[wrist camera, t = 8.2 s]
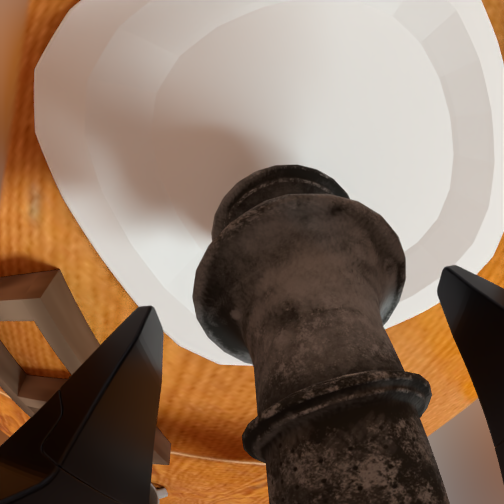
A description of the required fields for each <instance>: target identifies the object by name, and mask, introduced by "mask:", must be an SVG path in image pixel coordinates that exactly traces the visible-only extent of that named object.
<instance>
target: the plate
mask: <svg viewBox="0 0 504 504" xmlns="http://www.w3.org/2000/svg"><path fill="white" fill-rule="evenodd" d="M34 121H35V134H36V136H37V139H38V142H39V144H40V147H41V149H42V152H43V154H44V157H45V159H46V162H47V164H48V166H49V169H50V171H51V174H52V176H53V178H54V180H55V183H56V185H57V187H58V189H59V191H60V194H61V196H62V198H63V199H64V201H65V203H66V204H67V206H68V208H69V209H70V211H71V213H72V214H73V216H74V218H75V219H76V221H77V222H78V224H79V226H80V227H81V229H82V230H83V232H84V233H85V235H86V236H87V238H88V239H89V241H90V242H91V244H92V245H93V247H94V248H95V250H96V251H97V253H98V254H99V256H100V257H101V259H102V260H103V261H104V263H105V264H106V265H107V267H108V268H109V269H110V271H111V272H112V273H113V275H114V276H115V277H116V279H117V280H118V281H119V283H120V284H121V285H122V287H123V288H124V289H125V290H126V292H127V293H128V294H129V295H130V297H131V298H132V299H133V300H134V302H135V303H136V304H137V305H138V307H140V306H150V305H151V306H153V307H154V308H155V310H156V312H157V315H158V318H159V320H160V323H161V325H162V328H163V331H164V332H165V333H166V334H167V335H168V336H169V337H170V338H171V339H172V340H173V341H174V342H175V343H176V344H178V345H179V346H181V347H183V348H185V349H187V350H189V351H191V352H193V353H196V354H198V355H200V356H202V357H204V358H206V359H209V360H211V361H213V362H215V363H217V364H221V365H252V364H248V363H245V362H242V361H241V360H239V359H237V358H235V357H233V356H231V355H229V354H227V353H225V352H224V351H223V350H221V349H220V348H219V347H218V346H217V345H216V344H215V343H214V342H213V341H211V340H210V339H209V338H208V337H207V335H206V333H205V332H204V330H203V328H202V327H201V325H200V323H199V322H198V320H197V318H196V313H195V308H194V304H193V299H192V294H193V287H194V280H195V273H196V269H197V267H198V265H199V263H200V261H201V259H202V257H203V255H204V253H205V251H206V249H207V247H208V246H209V244H210V243H211V242H212V236H211V232H212V226H213V221H214V215H215V213H216V211H217V209H218V207H219V205H220V203H221V201H222V199H223V197H224V196H225V195H226V194H227V193H228V192H229V191H230V190H231V189H232V188H233V187H234V185H235V184H236V183H237V182H239V181H241V180H242V179H244V178H245V177H247V176H249V175H250V174H252V173H253V172H255V171H258V170H261V169H265V168H268V167H271V166H275V165H301V166H305V167H309V168H314V169H317V170H319V171H321V172H322V173H324V174H326V175H328V176H329V177H331V178H333V179H334V180H335V181H336V182H337V183H338V184H339V185H340V186H341V187H342V188H343V189H344V190H345V192H346V193H347V194H348V196H349V198H350V199H351V200H355V201H359V202H360V203H362V204H364V205H365V206H367V207H368V208H370V209H372V210H373V211H375V212H377V213H378V214H380V215H381V216H382V217H383V218H384V219H385V220H386V222H387V223H388V224H389V225H390V226H391V228H392V229H393V230H394V231H395V233H396V234H397V235H398V237H399V239H400V242H401V245H402V248H403V251H404V254H405V257H406V281H405V284H404V288H403V291H402V294H401V298H400V301H399V303H398V305H397V306H396V308H395V310H394V311H393V313H392V315H391V316H390V318H389V320H388V321H387V322H386V323H385V324H384V326H383V327H384V329H387V328H389V327H391V326H394V325H396V324H398V323H401V322H403V321H405V320H407V319H409V318H412V317H414V316H416V315H418V314H420V313H422V312H424V311H426V310H427V309H429V308H431V307H433V306H434V305H436V304H438V303H439V302H440V301H439V298H438V295H437V287H438V284H439V280H440V277H441V273H442V270H443V268H444V267H446V266H451V265H457V266H459V267H461V268H463V269H465V270H467V271H469V272H472V273H474V274H477V273H478V272H479V271H480V270H481V269H482V268H483V267H484V266H485V265H486V264H487V263H488V261H489V260H490V259H491V258H492V257H493V255H494V253H495V251H496V248H497V246H498V244H499V241H500V239H501V237H502V234H503V232H504V64H503V60H502V56H501V52H500V48H499V44H498V41H497V38H496V36H495V33H494V30H493V28H492V25H491V23H490V20H489V18H488V15H487V13H486V10H485V8H484V6H483V3H482V1H481V0H80V1H79V2H78V3H77V4H76V5H74V6H73V7H72V8H71V9H70V10H69V11H68V13H67V14H66V16H65V17H64V19H63V20H62V22H61V23H60V25H59V27H58V28H57V30H56V31H55V33H54V35H53V36H52V38H51V40H50V41H49V43H48V45H47V47H46V49H45V50H44V52H43V54H42V56H41V58H40V60H39V61H38V63H37V65H36V67H35V70H34Z"/></svg>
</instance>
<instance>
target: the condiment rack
mask: <svg viewBox="0 0 504 504" xmlns="http://www.w3.org/2000/svg"><path fill="white" fill-rule="evenodd" d="M0 321H35V323H36V325H37V326H38V328H39V329H40V331H41V332H42V334H43V336H44V337H45V339H46V340H47V342H48V343H49V344H50V346H51V347H52V349H53V350H54V352H55V353H56V354H57V356H58V357H59V359H60V360H61V361H62V363H63V364H64V365H65V367H66V368H67V369H68V371H69V372H70V373H71V375H72V374H73V373H74V372H75V371H76V370H77V369H78V368H79V367H80V366H81V365H82V364H83V363H84V362H85V360H86V359H87V358H88V357H89V356H90V355H91V354H92V353H93V352H94V351H95V350H96V349H97V348H98V347H99V346H100V345H99V343H98V341H97V340H96V338H95V336H94V334H93V333H92V331H91V329H90V327H89V326H88V324H87V322H86V320H85V319H84V317H83V315H82V313H81V311H80V309H79V307H78V306H77V304H76V302H75V300H74V298H73V296H72V294H71V292H70V290H69V288H68V286H67V284H66V282H65V280H64V278H63V276H62V273H61V271H60V269H59V270H51V271H44V272H36V273H29V274H21V275H14V276H6V277H0ZM66 381H67V379H59V378H49V377H40V376H32V375H26V373H25V372H24V371H23V370H22V368H21V367H20V366H19V365H18V363H17V362H16V361H15V360H14V358H13V357H12V356H11V354H10V353H9V352H8V350H7V349H6V348H5V346H4V345H3V344H2V342H1V341H0V387H1V388H2V389H3V390H4V391H5V392H6V393H7V394H8V395H9V396H10V398H11V399H12V400H13V401H14V402H15V403H16V404H17V405H18V406H19V407H20V408H21V409H22V410H23V411H24V412H25V413H26V414H28V415H29V416H30V417H32V416H33V415H34V414H35V413H36V412H37V411H38V410H39V409H40V408H41V407H42V406H43V405H44V404H45V403H46V402H47V401H48V400H49V399H50V398H51V397H52V395H53V394H54V393H55V392H56V391H57V390H58V389H59V390H60V387H61V386H62V385H63V384H64V383H65V382H66ZM170 450H171V443H170V442H169V441H168V440H167V439H166V438H165V436H164V435H163V434H162V433H161V431H160V430H159V429H158V428H157V426H156V433H155V442H154V452H153V462H152V464H161V465H169V462H170Z"/></svg>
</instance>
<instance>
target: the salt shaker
mask: <svg viewBox="0 0 504 504" xmlns="http://www.w3.org/2000/svg"><path fill="white" fill-rule="evenodd" d="M211 236H212V242H211V243H210V244H209V246H208V247H207V249H206V251H205V253H204V255H203V257H202V259H201V261H200V263H199V265H198V267H197V269H196V273H195V280H194V287H193V294H192V299H193V304H194V308H195V313H196V318H197V320H198V322H199V323H200V325H201V327H202V328H203V330H204V332H205V333H206V335H207V337H208V338H209V339H210V340H211V341H213V342H214V343H215V344H216V345H217V346H218V347H219V348H220V349H221V350H223V351H224V352H225V353H227V354H229V355H231V356H233V357H235V358H237V359H239V360H241V361H242V362H245V363H248V364H252V365H253V366H254V374H255V387H256V400H257V413H258V416H257V417H256V418H255V419H254V420H252V421H251V422H250V423H249V424H248V425H247V427H246V429H245V431H244V433H243V435H242V441H243V447H244V450H245V451H246V452H247V453H248V454H249V455H250V456H251V457H253V458H255V459H257V460H259V461H261V462H264V463H266V470H267V482H268V493H269V504H449V500H448V497H447V493H446V490H445V487H444V484H443V481H442V478H441V475H440V472H439V469H438V466H437V463H436V460H435V458H434V455H433V452H432V449H431V446H430V444H429V441H428V438H427V436H426V433H425V430H424V428H423V425H422V423H421V420H420V417H421V416H422V414H423V413H424V412H425V410H426V409H427V407H428V404H429V402H430V399H431V396H432V393H431V388H430V384H429V382H428V381H427V380H426V379H424V378H423V377H422V376H421V375H419V374H415V373H410V372H405V371H404V369H403V367H402V365H401V362H400V360H399V358H398V356H397V354H396V352H395V350H394V348H393V345H392V343H391V341H390V339H389V337H388V335H387V333H386V331H385V329H384V327H383V326H384V324H385V323H386V322H387V321H388V320H389V318H390V316H391V315H392V313H393V311H394V310H395V308H396V306H397V305H398V303H399V301H400V298H401V294H402V291H403V288H404V284H405V281H406V257H405V254H404V251H403V248H402V245H401V242H400V239H399V237H398V235H397V234H396V233H395V231H394V230H393V229H392V228H391V226H390V225H389V224H388V223H387V222H386V220H385V219H384V218H383V217H382V216H381V215H380V214H378V213H377V212H375V211H373V210H372V209H370V208H368V207H367V206H365V205H364V204H362V203H360V202H359V201H355V200H351V199H350V198H349V196H348V194H347V193H346V192H345V190H344V189H343V188H342V187H341V186H340V185H339V184H338V183H337V182H336V181H335V180H334V179H333V178H331V177H329V176H328V175H326V174H324V173H322V172H321V171H319V170H317V169H314V168H309V167H305V166H301V165H275V166H271V167H268V168H265V169H261V170H258V171H255V172H253V173H252V174H250V175H249V176H247V177H245V178H244V179H242V180H241V181H239V182H237V183H236V184H235V185H234V187H233V188H232V189H231V190H230V191H229V192H228V193H227V194H226V195H225V196H224V197H223V199H222V201H221V203H220V205H219V207H218V209H217V211H216V213H215V215H214V221H213V226H212V232H211Z"/></svg>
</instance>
